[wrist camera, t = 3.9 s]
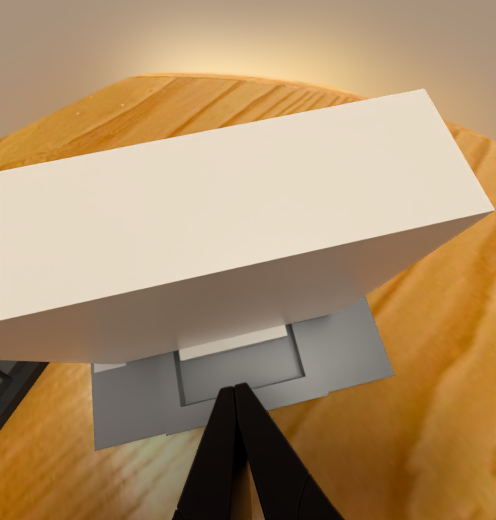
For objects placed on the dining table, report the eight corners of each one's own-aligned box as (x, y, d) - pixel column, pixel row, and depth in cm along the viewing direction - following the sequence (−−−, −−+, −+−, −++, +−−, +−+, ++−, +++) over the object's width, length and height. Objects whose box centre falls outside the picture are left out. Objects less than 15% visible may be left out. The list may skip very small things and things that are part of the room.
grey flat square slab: (382, 375, 17) (404, 375, 14) (109, 443, 16) (83, 456, 13) (304, 156, 22) (310, 130, 19) (94, 199, 21) (74, 177, 18)
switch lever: (337, 325, 16) (509, 235, 5) (130, 374, 15) (-162, 388, 5) (315, 256, 17) (415, 71, 7) (123, 299, 17) (-113, 173, 6)
